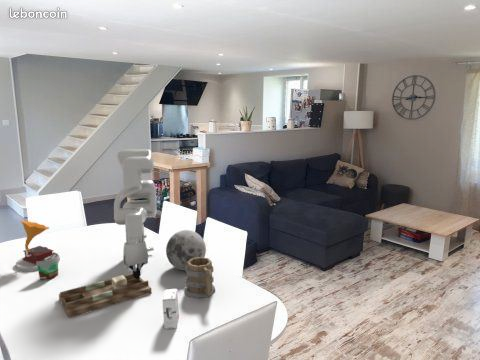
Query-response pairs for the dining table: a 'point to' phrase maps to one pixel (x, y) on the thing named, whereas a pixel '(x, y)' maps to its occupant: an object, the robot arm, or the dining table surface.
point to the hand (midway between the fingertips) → (136, 277)
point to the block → (119, 282)
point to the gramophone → (34, 253)
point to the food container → (48, 267)
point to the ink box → (170, 308)
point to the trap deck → (101, 295)
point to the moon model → (184, 248)
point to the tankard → (199, 277)
